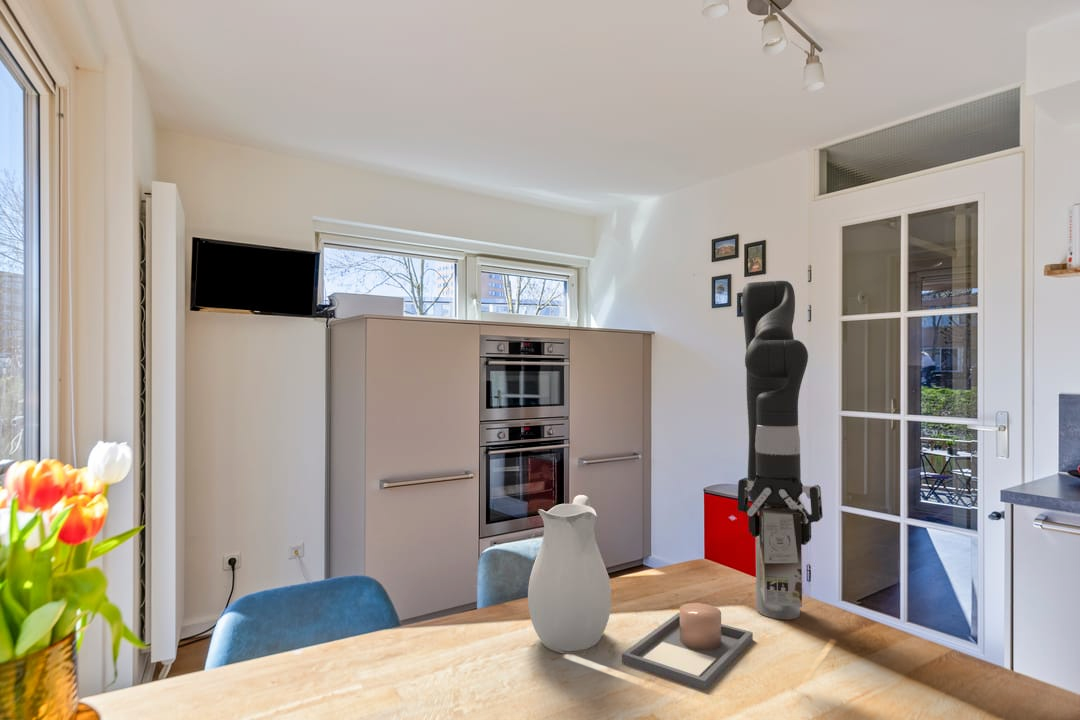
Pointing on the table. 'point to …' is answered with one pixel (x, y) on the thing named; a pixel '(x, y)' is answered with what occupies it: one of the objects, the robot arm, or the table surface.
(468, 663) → the table surface
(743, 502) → the robot arm
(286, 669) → the table surface
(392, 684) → the table surface
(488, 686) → the table surface
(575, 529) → the pitcher
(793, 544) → the coffee box
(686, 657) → the serving tray
